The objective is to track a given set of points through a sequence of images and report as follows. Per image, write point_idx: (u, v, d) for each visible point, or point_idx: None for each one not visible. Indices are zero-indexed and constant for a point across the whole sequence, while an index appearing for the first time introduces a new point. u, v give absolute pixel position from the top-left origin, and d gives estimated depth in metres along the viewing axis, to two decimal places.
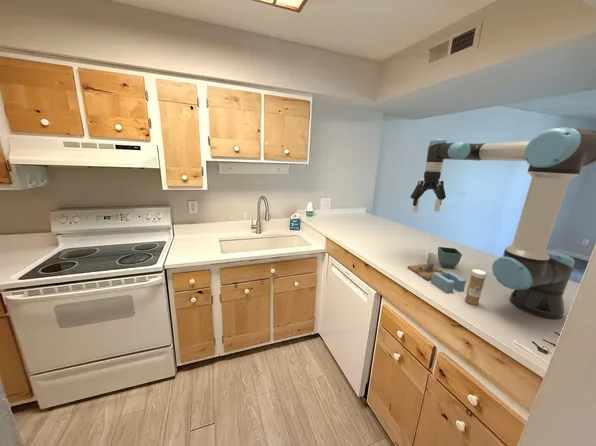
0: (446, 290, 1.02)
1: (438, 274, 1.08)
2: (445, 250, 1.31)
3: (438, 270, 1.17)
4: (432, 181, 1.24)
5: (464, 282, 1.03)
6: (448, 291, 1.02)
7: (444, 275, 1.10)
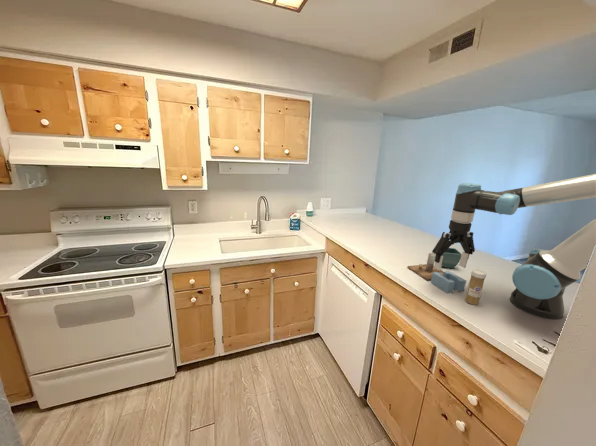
0: (446, 290, 1.02)
1: (438, 274, 1.08)
2: None
3: (438, 270, 1.17)
4: (460, 233, 1.00)
5: (464, 282, 1.03)
6: (448, 291, 1.02)
7: (444, 275, 1.10)
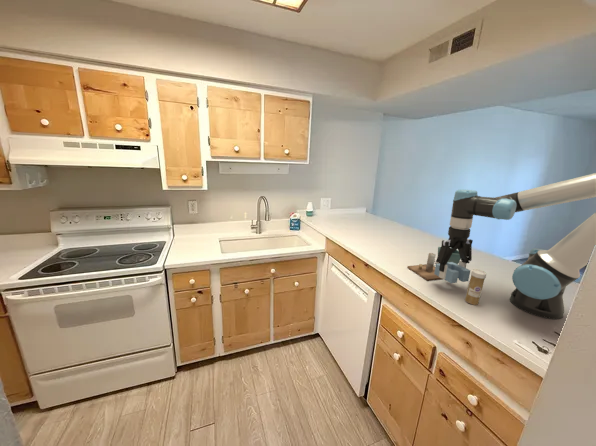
0: (450, 280, 1.01)
1: None
2: None
3: None
4: (459, 239, 1.00)
5: (468, 272, 1.01)
6: (452, 281, 1.00)
7: (448, 266, 1.09)
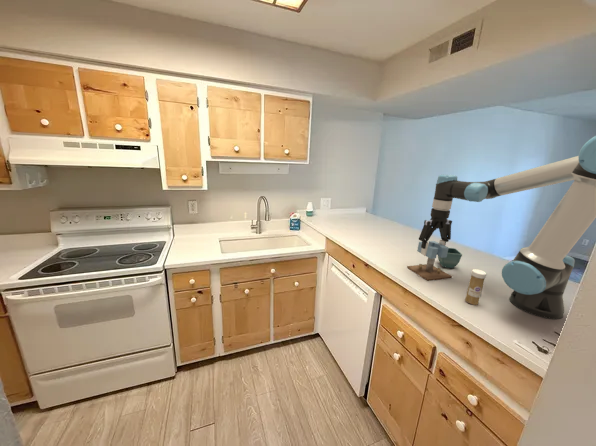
0: (430, 256, 1.13)
1: None
2: None
3: (438, 270, 1.17)
4: (440, 220, 1.12)
5: (447, 249, 1.13)
6: (432, 257, 1.13)
7: (429, 244, 1.21)
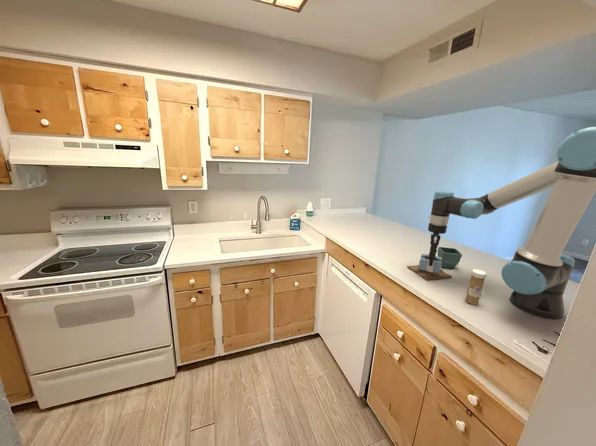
0: (438, 271, 1.13)
1: (424, 259, 1.17)
2: (445, 250, 1.31)
3: None
4: (438, 234, 1.14)
5: (441, 259, 1.19)
6: (439, 271, 1.14)
7: None
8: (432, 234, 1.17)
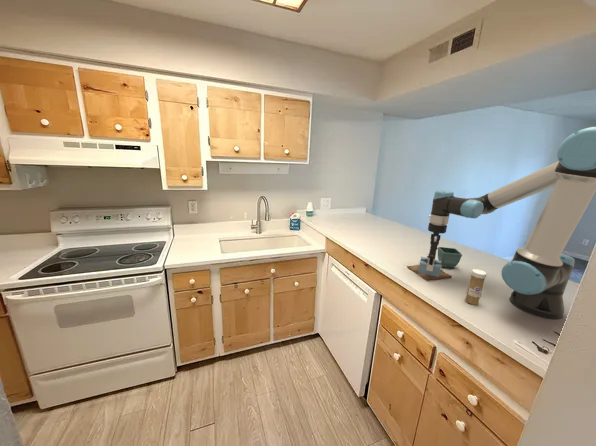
0: (438, 274, 1.14)
1: (424, 262, 1.17)
2: (445, 250, 1.31)
3: None
4: (438, 234, 1.14)
5: (440, 262, 1.20)
6: None
7: None
8: (432, 234, 1.16)
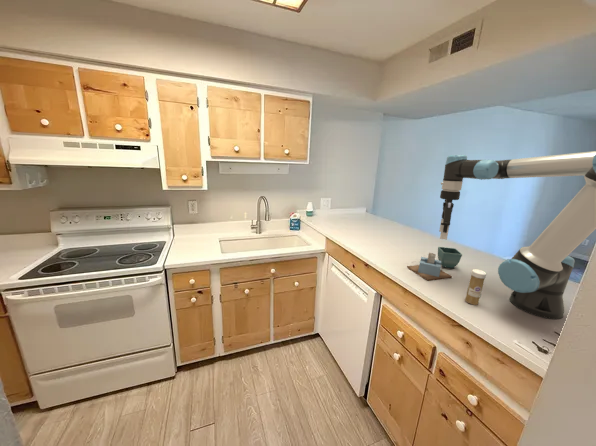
0: (438, 274, 1.14)
1: (424, 262, 1.17)
2: (445, 250, 1.31)
3: None
4: None
5: (440, 262, 1.20)
6: None
7: None
8: (444, 202, 1.12)
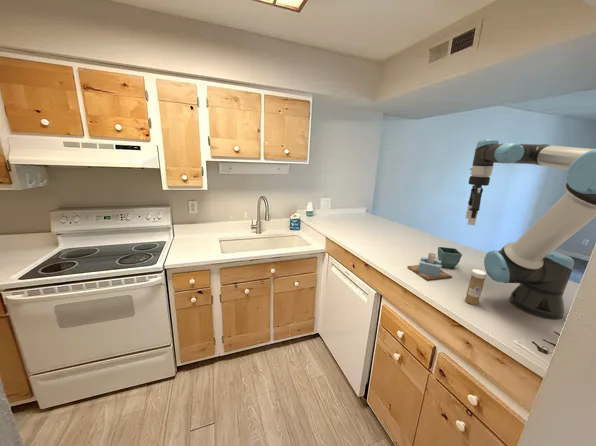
0: (438, 274, 1.14)
1: (424, 262, 1.17)
2: (445, 250, 1.31)
3: None
4: None
5: (440, 262, 1.20)
6: None
7: None
8: (473, 188, 1.11)
